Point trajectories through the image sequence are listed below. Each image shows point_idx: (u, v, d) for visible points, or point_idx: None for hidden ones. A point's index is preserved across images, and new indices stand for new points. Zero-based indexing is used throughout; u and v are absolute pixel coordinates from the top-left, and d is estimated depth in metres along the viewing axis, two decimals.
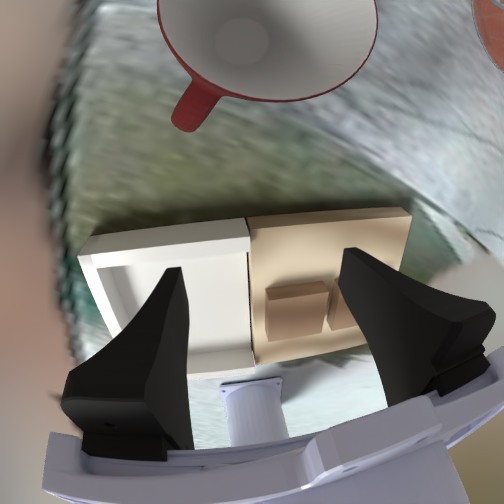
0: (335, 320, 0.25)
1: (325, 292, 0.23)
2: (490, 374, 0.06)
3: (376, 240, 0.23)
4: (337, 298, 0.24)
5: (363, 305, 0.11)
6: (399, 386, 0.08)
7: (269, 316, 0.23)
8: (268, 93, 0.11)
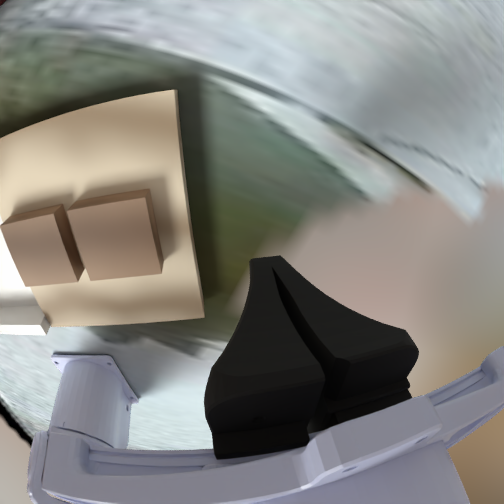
0: (86, 263, 0.16)
1: (50, 214, 0.14)
2: (490, 374, 0.06)
3: (117, 136, 0.14)
4: (72, 225, 0.15)
5: None
6: None
7: (9, 248, 0.14)
8: None
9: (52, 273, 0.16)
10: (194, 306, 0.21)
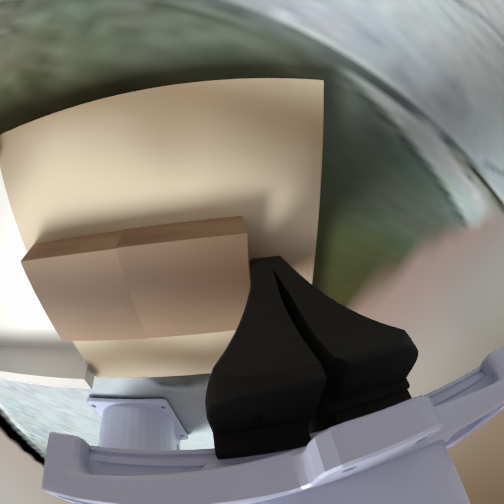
0: (143, 318, 0.12)
1: (109, 250, 0.10)
2: (490, 374, 0.06)
3: (234, 133, 0.10)
4: (123, 267, 0.11)
5: None
6: None
7: (36, 293, 0.10)
8: None
9: (107, 327, 0.12)
10: None
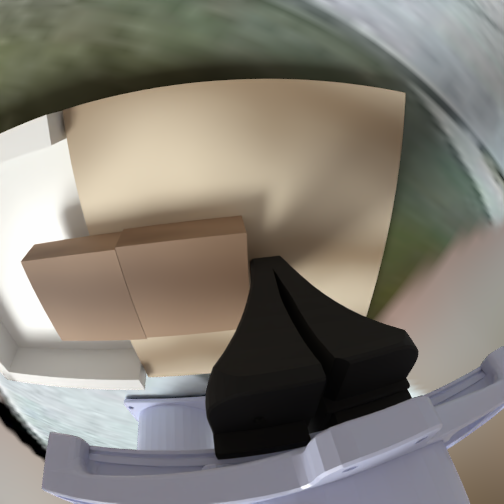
0: (142, 317, 0.12)
1: (108, 251, 0.10)
2: (490, 374, 0.06)
3: (335, 132, 0.10)
4: (123, 267, 0.11)
5: None
6: None
7: (36, 293, 0.10)
8: None
9: (106, 328, 0.12)
10: None
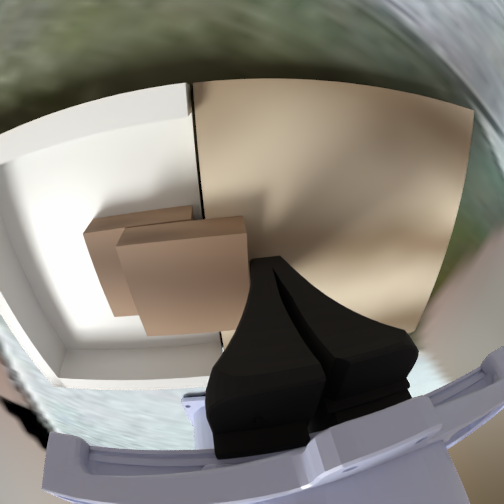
0: (143, 316, 0.12)
1: (184, 220, 0.12)
2: (490, 374, 0.06)
3: (429, 139, 0.11)
4: (124, 266, 0.11)
5: None
6: None
7: (95, 266, 0.12)
8: None
9: None
10: (413, 321, 0.18)
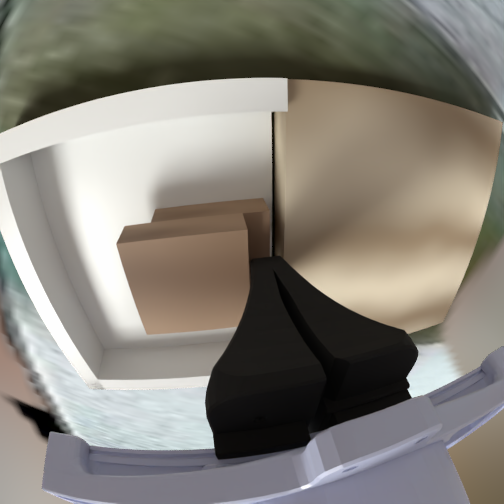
0: (143, 314, 0.12)
1: (262, 212, 0.12)
2: (490, 374, 0.06)
3: (468, 147, 0.11)
4: (124, 263, 0.11)
5: None
6: None
7: None
8: None
9: None
10: (443, 312, 0.19)
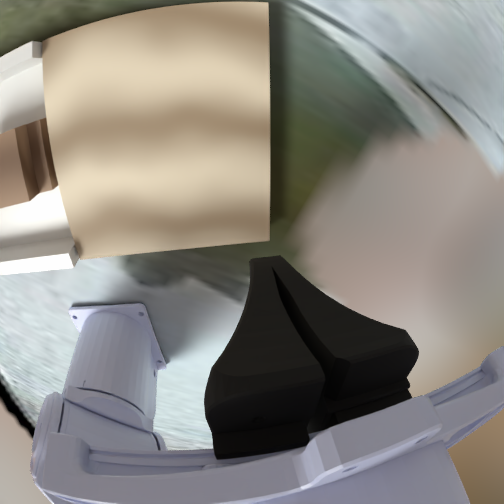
0: None
1: (36, 121, 0.13)
2: (490, 374, 0.06)
3: (208, 32, 0.13)
4: None
5: None
6: None
7: None
8: None
9: None
10: (261, 225, 0.20)
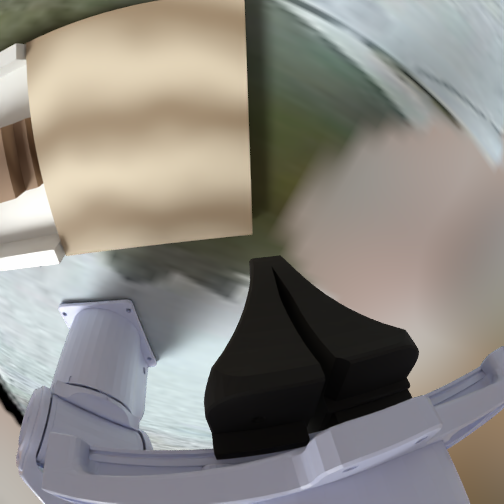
0: None
1: (21, 120, 0.13)
2: (490, 374, 0.06)
3: (184, 26, 0.12)
4: None
5: None
6: None
7: None
8: None
9: None
10: (243, 218, 0.19)
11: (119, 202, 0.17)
